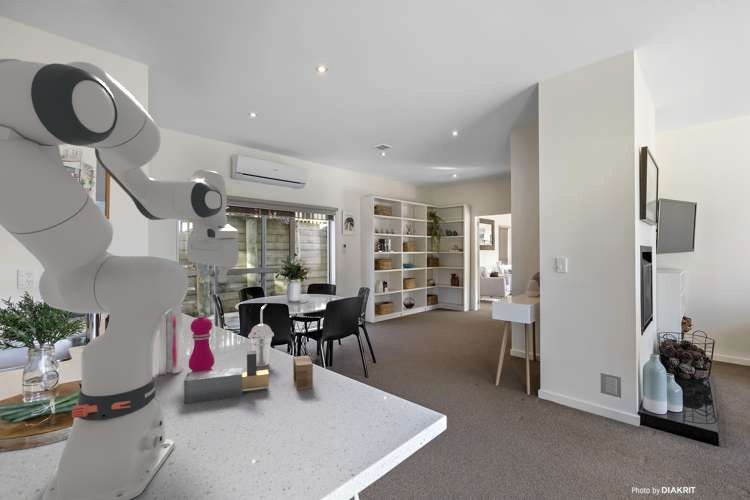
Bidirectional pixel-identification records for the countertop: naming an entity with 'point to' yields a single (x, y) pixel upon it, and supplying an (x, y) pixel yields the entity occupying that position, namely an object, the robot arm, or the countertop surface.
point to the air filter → (171, 343)
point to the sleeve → (212, 385)
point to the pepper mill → (201, 345)
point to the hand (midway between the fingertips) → (212, 279)
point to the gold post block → (254, 374)
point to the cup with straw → (261, 341)
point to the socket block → (302, 372)
